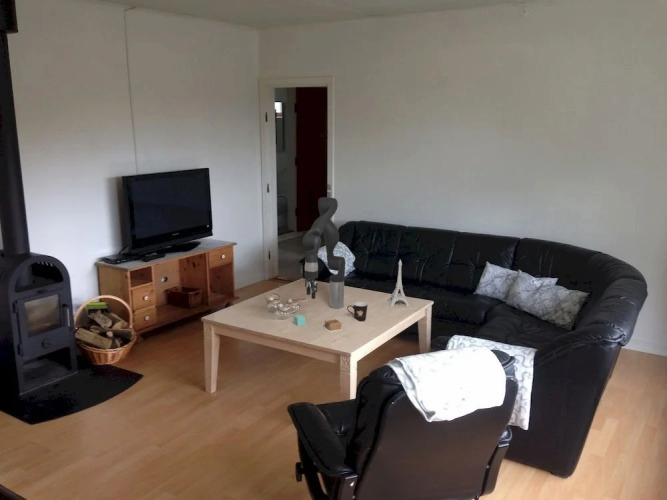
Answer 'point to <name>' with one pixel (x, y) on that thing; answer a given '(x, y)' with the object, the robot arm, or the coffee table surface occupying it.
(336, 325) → the walnut block
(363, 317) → the coffee mug
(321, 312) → the coffee table surface
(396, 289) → the eiffel tower
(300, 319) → the teal block
